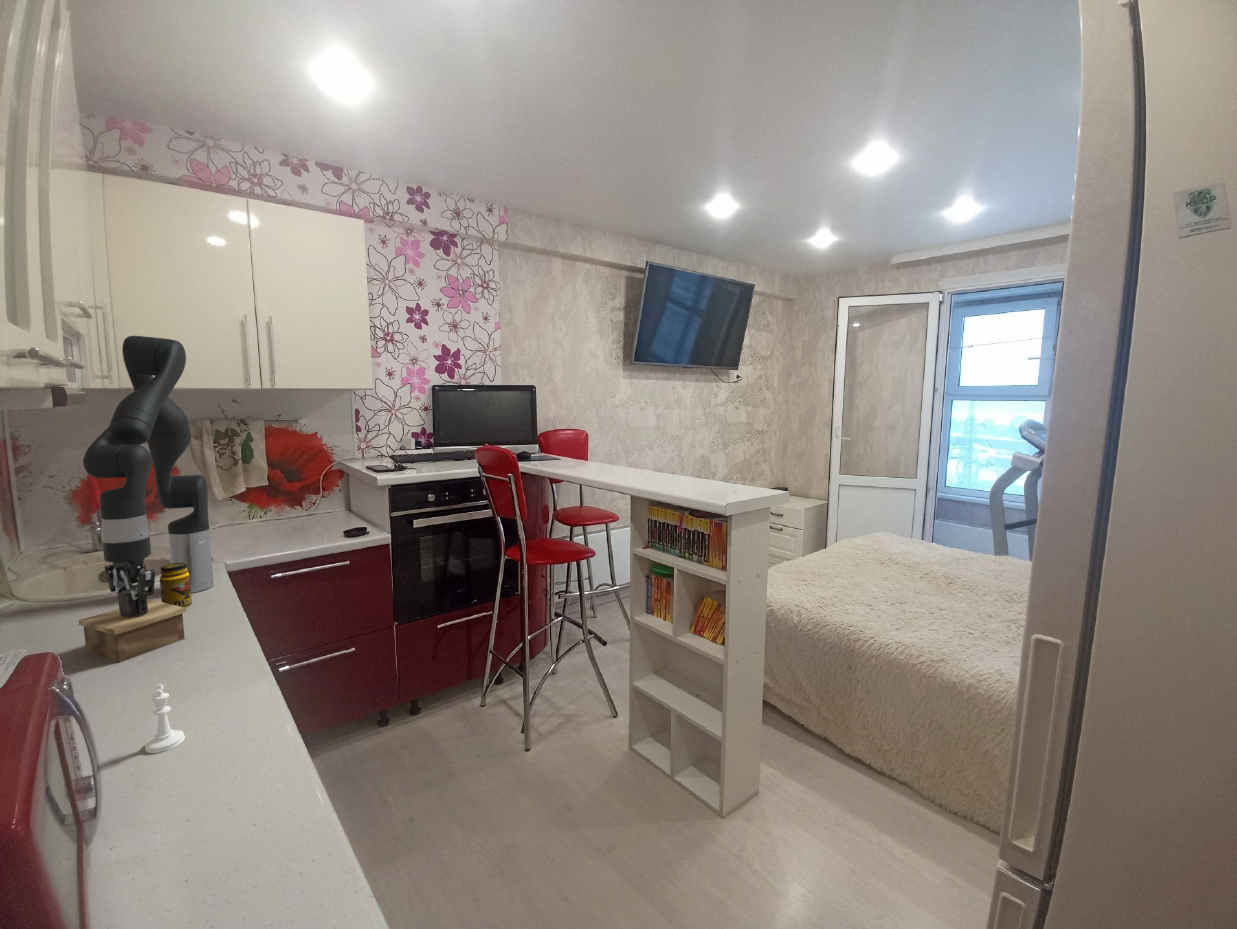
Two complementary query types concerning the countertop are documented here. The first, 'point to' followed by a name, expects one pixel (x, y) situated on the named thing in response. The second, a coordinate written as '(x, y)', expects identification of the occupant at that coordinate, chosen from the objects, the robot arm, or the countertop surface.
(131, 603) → the lid
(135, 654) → the box
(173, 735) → the chess piece
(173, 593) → the condiment
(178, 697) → the countertop surface
